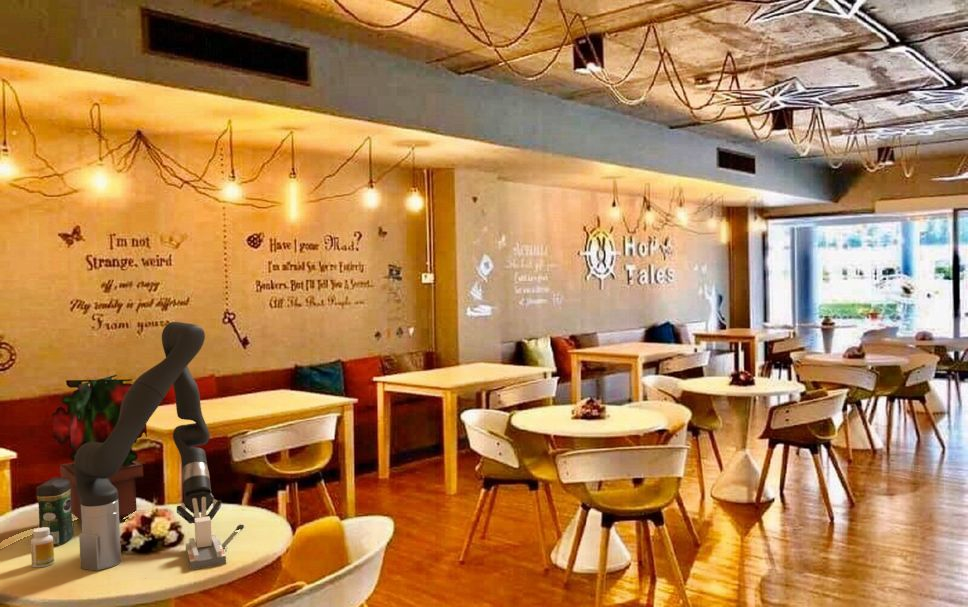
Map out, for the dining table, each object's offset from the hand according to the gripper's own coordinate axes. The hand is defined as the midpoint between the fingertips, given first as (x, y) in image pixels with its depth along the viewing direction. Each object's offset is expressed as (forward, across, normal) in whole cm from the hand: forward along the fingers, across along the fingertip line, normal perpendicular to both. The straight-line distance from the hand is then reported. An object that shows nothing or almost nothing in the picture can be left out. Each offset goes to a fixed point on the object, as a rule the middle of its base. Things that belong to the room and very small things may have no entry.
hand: (202, 533), depth 230 cm
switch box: (+8, 0, -2) cm, 8 cm away
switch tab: (+4, 0, -1) cm, 4 cm away
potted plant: (-29, -26, +35) cm, 53 cm away
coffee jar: (-16, -38, +23) cm, 48 cm away
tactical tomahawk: (0, +9, +7) cm, 12 cm away
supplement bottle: (-3, -41, +10) cm, 42 cm away
